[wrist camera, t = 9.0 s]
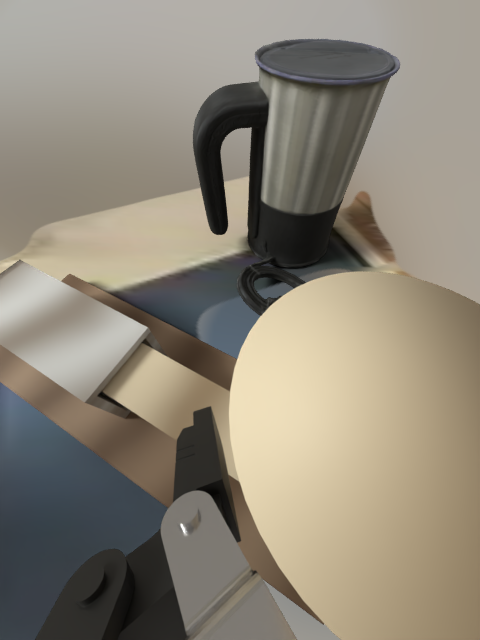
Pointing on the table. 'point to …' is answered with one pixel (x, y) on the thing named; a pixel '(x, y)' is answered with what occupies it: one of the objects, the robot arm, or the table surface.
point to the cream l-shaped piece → (351, 447)
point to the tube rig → (94, 374)
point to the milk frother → (292, 148)
